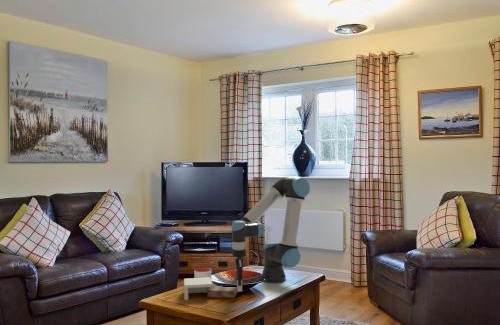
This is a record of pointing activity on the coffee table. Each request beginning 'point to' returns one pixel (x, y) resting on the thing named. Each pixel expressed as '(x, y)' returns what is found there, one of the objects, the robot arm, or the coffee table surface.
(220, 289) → the board
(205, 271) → the cup
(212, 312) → the coffee table surface
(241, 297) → the coffee table surface
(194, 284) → the shelf
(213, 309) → the coffee table surface
